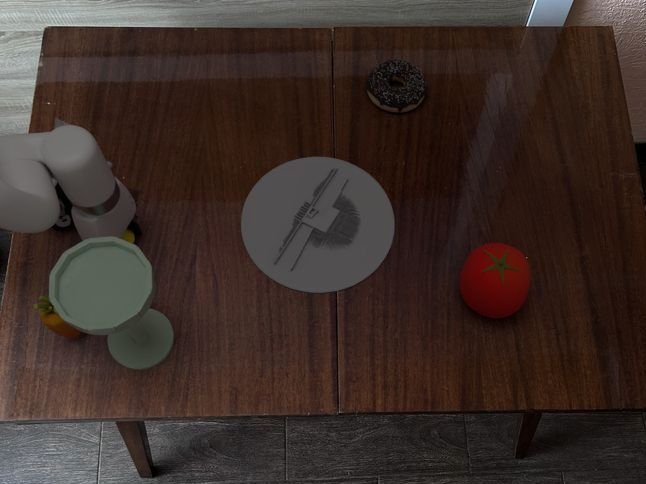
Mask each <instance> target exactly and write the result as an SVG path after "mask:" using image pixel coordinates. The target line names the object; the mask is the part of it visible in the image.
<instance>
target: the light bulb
mask: <svg viewBox="0 0 646 484" xmlns="http://www.w3.org/2000/svg"><path fill="white" fill-rule="evenodd" d="M120 239H122V240H125V241H127V242H129V243H132V244H135V240H136V235H134V233H133V232H132V231H131V230H130V229H128V228H126V230H125V232H124V233H123V235H122V236H121V238H120Z"/></svg>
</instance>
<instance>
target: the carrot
mask: <svg viewBox="0 0 646 484" xmlns="http://www.w3.org/2000/svg"><path fill="white" fill-rule="evenodd" d="M38 300H39V301H41V303H40V302H38V303H34V304H33V309H34V310H39V311H38V315H39V317H40V319H41V321H42V324H43V325H44V326H46V327H47V328H48V330H50V331H51V332H52V333H54V334H56V335H59V336H61V337H64V338H69V339H75V338H77V337H79V336H80V333H81V331H79V330H77V329H75V328H74V327H72V326H71V325H69V324H66V322H64V321H63V320H62V319H61V317H60V315H59V314H58V312H57V311H56V309H55V308H54V306H53V305H52V303H51V302H50V300H49V297H47V296H45V295H39V297H38Z"/></svg>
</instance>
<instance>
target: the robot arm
mask: <svg viewBox="0 0 646 484" xmlns="http://www.w3.org/2000/svg"><path fill="white" fill-rule="evenodd" d="M114 167H115V165H114V163H113V162H111V161H109V160H106V158H105V156H104V153H103V152H102V149H101V148H100V146H99V144H98V142H97V140H96V138H95V137H94V135H93V134H92V133H90V131H88V130H87V129H85V128H84V127H81V126H79V125H74V124H69V125H65V126H61V127H58V128H56V129H55V128H54V129H53V130H51V131H44V132H30V133H28V132H27V133H12V134H5V135H1V136H0V229H2V230H6V231H9V232H14V233H21V234H37V233H41V232H45V231H47V230H49V229H52V228H51V227H52V226H53V225H54V224H55V223H56V222H57V220H58V218H59V214H60V205H59V201H58V197H57V194H56V190H55V187H54V184H53V181H52V179H55V180H56V181H57V182H58V183H59V185H60V186H61V188H62V190H63V191H64V193H65V194H66V196H67V197H68V199H69V200H70V202H71V204H72V205H73V207H72V210H71V212H72V217H73V221H74V224H75V229H76V230H77V233H78V235H79V237H80V238H81V240H82V241H84V240H85V239H88V238H98V237H111V236H114V237H117V238H121V236H122V235H123V233H124V232H125V230H126V228H128V229H130V230H131V231H132V232H133V233H134V236H135V237H138V238H140V237H142V236H143V231H142V230H141V228H140V225H139V223H138V221H139V216H138V215H137V212H138V211H137V210H138V207H139V206H138V200H139V195H140V191H139V190H137V189H134V188H127V187H126V186H125V185H124V184H123V183H122V182H121V181H120V180H119V179H118V178H117V176H115V175H114V174H113V169H114Z"/></svg>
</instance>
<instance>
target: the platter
mask: <svg viewBox="0 0 646 484" xmlns="http://www.w3.org/2000/svg"><path fill="white" fill-rule="evenodd" d="M48 275H49V276H48V278H49V279H48V298H49V300H50V302H51V303H52V305H53V306H54V308H55V309H56V311H57V312H58V314H59V315H60V317H61V319H62V320H63V321H64V322H66V324H69V325H71V326H72V327H74V328H75V329H77V330H79V331H80V333H84V334H89V335H94V336H108V334H114V333H117V332H120V331H123V330H125V329H127V328H129V327H131V326H132V325H134V324H135V323H137V322H138V321H139V320H140V319H141V318H142V317H143V316H144V315H145V314H146V312H147V311H148V309H149V308H150V307H151V306H152V303H153V301H154V299H155V296H156V295H155V294H156V286H157V285H156V283H157V282H156V277H155V270H154V267H153V266H152V264H151V263H150V261H149V259H148V258H147V257H146V255H145V254H144V253H143V251H142V249H141V248H140V247H139V246H138V245H137V244H135V243H133V244H132V243H129V242H127V241H125V240H122V239H120V238H117V237H114V236H111V237H98V238H88V239H85V240H84V241H83V240H82V241H80V242H79V243H77V244H75V245H73V246H72V247H70V248H68V249H66V250H65V251H64V252H62V254H61V255H60V257H59V259H58V260H57V261H56V263H55V264H54V266H53V268H52V269H51V270H50V273H49V274H48Z"/></svg>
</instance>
